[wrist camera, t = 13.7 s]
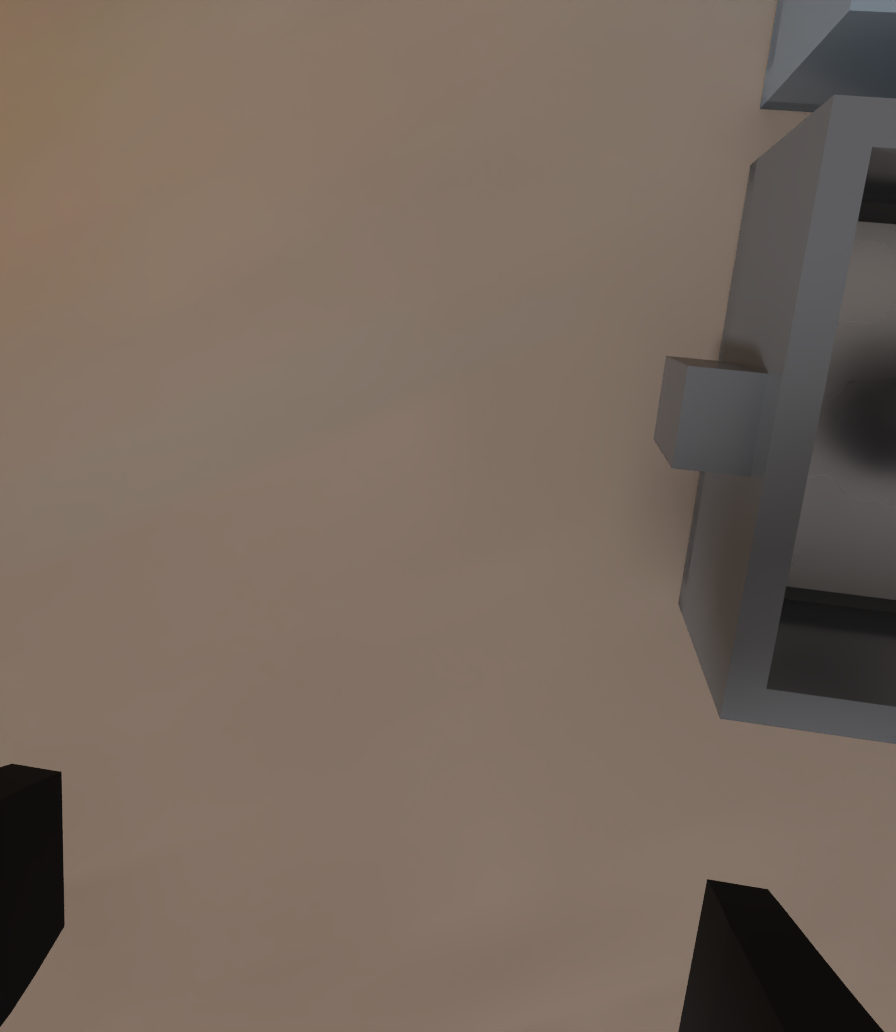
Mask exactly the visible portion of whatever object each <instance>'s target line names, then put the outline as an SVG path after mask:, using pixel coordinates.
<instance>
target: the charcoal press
mask: <svg viewBox="0 0 896 1032" xmlns="http://www.w3.org/2000/svg"><path fill="white" fill-rule="evenodd" d="M858 221H859V222H872V223H885V224H896V99H895V98H879V97H863V96H846V95H833V96H832V97H831V98H830V99H828V100H827V101H826V102H825V103H824V104H823V105H821V106H820V107H819V108H818V109H817V110H815V111H814V112H813V113H812V114H811V115H809V116H808V117H807V118H806V119H805V120H803V121H802V122H801V123H800V124H799V125H797V126H796V127H795V128H794V129H793V130H792V131H790V132H789V133H788V134H787V135H786V136H784V137H783V138H782V139H781V140H780V141H778V142H777V143H776V144H775V145H774V146H772V147H771V148H770V149H769V150H768V151H767V152H765V153H764V154H763V155H762V156H761V157H759V158H758V159H757V160H756V161H755V162H753V163H752V164H751V166H750V172H749V178H748V184H747V190H746V196H745V203H744V209H743V215H742V221H741V227H740V233H739V239H738V245H737V251H736V257H735V263H734V269H733V275H732V282H731V288H730V294H729V300H728V306H727V312H726V318H725V324H724V330H723V336H722V342H721V348H720V354H719V361H713V360H703V359H692V358H682V357H672V356H666V360H665V366H664V373H663V380H662V387H661V393H660V400H659V407H658V413H657V420H656V427H655V433H654V441H655V442H656V444H657V446H658V447H659V449H660V450H661V452H662V453H663V455H664V457H665V458H666V460H667V461H668V463H669V464H670V466H671V468H676V469H685V470H694V471H700V476H699V482H698V488H697V494H696V500H695V506H694V512H693V519H692V525H691V531H690V537H689V543H688V549H687V555H686V561H685V567H684V573H683V579H682V585H681V591H680V598H679V607H680V610H681V612H682V615H683V618H684V621H685V623H686V626H687V629H688V632H689V635H690V637H691V640H692V643H693V646H694V648H695V651H696V654H697V657H698V659H699V662H700V665H701V668H702V670H703V673H704V676H705V679H706V681H707V684H708V687H709V690H710V692H711V695H712V698H713V701H714V704H715V706H716V709H717V712H718V715H719V717H720V719H727V720H734V721H741V722H748V723H755V724H762V725H769V726H775V727H782V728H789V729H796V730H803V731H810V732H817V733H824V734H831V735H838V736H845V737H851V738H858V739H865V740H872V741H879V742H886V743H893V744H896V600H891V599H883V598H875V597H867V596H860V595H852V594H844V593H836V592H828V591H820V590H812V589H804V588H796V587H788V586H786V585H787V580H788V575H789V570H790V565H791V560H792V555H793V549H794V544H795V539H796V534H797V529H798V524H799V519H800V514H801V509H802V503H803V498H804V493H805V488H806V483H807V478H808V473H809V468H810V463H811V457H812V452H813V447H814V442H815V437H816V432H817V427H818V422H819V417H820V411H821V406H822V401H823V396H824V391H825V386H826V381H827V376H828V371H829V365H830V360H831V355H832V350H833V345H834V340H835V335H836V330H837V325H838V319H839V314H840V309H841V304H842V299H843V294H844V289H845V284H846V279H847V273H848V268H849V263H850V258H851V253H852V248H853V243H854V238H855V233H856V227H857V222H858Z"/></svg>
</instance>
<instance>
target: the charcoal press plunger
mask: <svg viewBox="0 0 896 1032" xmlns="http://www.w3.org/2000/svg"><path fill="white" fill-rule="evenodd" d="M786 586H788V587H796V588H804V589H812V590H820V591H828V592H836V593H844V594H852V595H860V596H867V597H875V598H883V599H891V600H896V224H885V223H872V222H859V221H858V222H857V227H856V233H855V238H854V243H853V248H852V253H851V258H850V263H849V268H848V273H847V279H846V284H845V289H844V294H843V299H842V304H841V309H840V314H839V319H838V325H837V330H836V335H835V340H834V345H833V350H832V355H831V360H830V365H829V371H828V376H827V381H826V386H825V391H824V396H823V401H822V406H821V411H820V417H819V422H818V427H817V432H816V437H815V442H814V447H813V452H812V457H811V463H810V468H809V473H808V478H807V483H806V488H805V493H804V498H803V503H802V509H801V514H800V519H799V524H798V529H797V534H796V539H795V544H794V549H793V555H792V560H791V565H790V570H789V575H788V580H787V585H786Z"/></svg>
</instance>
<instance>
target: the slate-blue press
mask: <svg viewBox="0 0 896 1032" xmlns="http://www.w3.org/2000/svg"><path fill="white" fill-rule="evenodd" d="M833 95H846V96H863V97H879V98H895V99H896V0H778V2H777V8H776V14H775V20H774V26H773V32H772V38H771V45H770V51H769V57H768V63H767V69H766V75H765V81H764V87H763V93H762V99H761V105H760V109H771V110H787V111H802V112H814V111H815V110H817V109H818V108H819V107H820V106H821V105H823V104H824V103H825V102H826V101H827V100H828V99H830V98H831V97H832V96H833Z"/></svg>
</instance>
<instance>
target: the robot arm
mask: <svg viewBox="0 0 896 1032" xmlns="http://www.w3.org/2000/svg"><path fill="white" fill-rule="evenodd" d="M63 928H64V878H63V829H62V780H61V772H58V771H52V770H46V769H40V768H34V767H28V766H22V765H16V764H10V765H6V766H3V767H0V1026H1V1025H2V1024H3V1022H4V1021H5V1020H6V1018H7V1017H8V1016H9V1015H10V1013H11V1012H12V1010H13V1009H14V1007H15V1006H16V1004H17V1002H18V1001H19V999H20V998H21V996H22V995H23V993H24V992H25V990H26V988H27V987H28V985H29V984H30V982H31V981H32V979H33V977H34V976H35V974H36V973H37V971H38V969H39V968H40V966H41V964H42V963H43V961H44V959H45V958H46V956H47V954H48V953H49V951H50V949H51V948H52V946H53V944H54V943H55V941H56V939H57V938H58V936H59V934H60V933H61V931H62V929H63ZM679 1032H884V1031H883V1030H882V1029H881V1028H880V1027H879V1025H878V1024H877V1023H876V1022H875V1021H874V1020H873V1018H872V1017H871V1016H870V1015H869V1014H868V1012H867V1011H866V1010H865V1009H864V1008H863V1006H862V1005H861V1004H860V1003H859V1002H858V1000H857V999H856V998H855V997H854V995H853V994H852V993H851V992H850V991H849V989H848V988H847V987H846V986H845V984H844V983H843V982H842V981H841V980H840V978H839V977H838V976H837V975H836V973H835V972H834V971H833V970H832V968H831V967H830V966H829V965H828V963H827V962H826V961H825V960H824V959H823V957H822V956H821V955H820V954H819V952H818V951H817V950H816V949H815V947H814V946H813V945H812V944H811V942H810V941H809V940H808V939H807V937H806V936H805V935H804V933H803V932H802V931H801V930H800V928H799V927H798V926H797V925H796V923H795V922H794V921H793V920H792V918H791V917H790V916H789V915H788V913H787V912H786V911H785V910H784V908H783V907H782V906H781V905H780V903H779V902H778V901H777V900H776V899H775V897H774V896H773V895H772V894H771V893H770V891H769V890H768V889H762V888H756V887H750V886H744V885H738V884H732V883H726V882H720V881H714V880H708V879H707V884H706V889H705V894H704V900H703V905H702V910H701V916H700V921H699V926H698V932H697V937H696V942H695V947H694V953H693V958H692V963H691V969H690V974H689V979H688V985H687V990H686V995H685V1000H684V1006H683V1011H682V1016H681V1022H680V1027H679Z"/></svg>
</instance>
